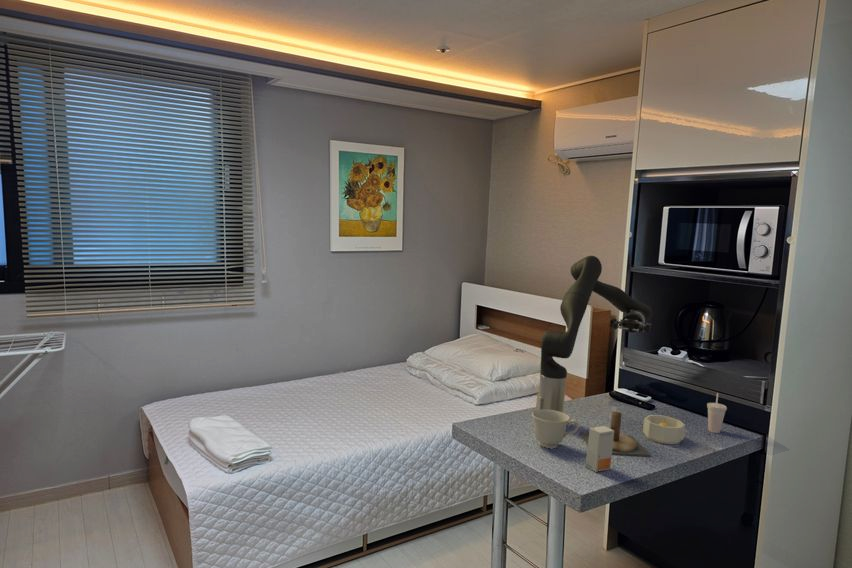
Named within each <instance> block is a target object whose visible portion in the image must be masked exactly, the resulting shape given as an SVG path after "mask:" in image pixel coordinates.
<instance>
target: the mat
mask: <svg viewBox="0 0 852 568" xmlns="http://www.w3.org/2000/svg"><path fill="white" fill-rule="evenodd" d="M579 435H580V437H581V438H582V440H583V439H584V440H583V441H584V442H585V443H586V446H588V440H589V432H579ZM625 435H626V436H628V437H630V438H632V439H634V440H635V441H636V442H637V448H636V449H635V450H634V451H630V452H618V451H612V454H614V456H616V455H617V456H630V455H633V456H634V457H647V456H651V457H652V454H651V453H650V452H649V451H648V450H647V449H646V448H645V447H644V446H643V445H642V444H641V443H640V442H639V441H638V440H637V439H636V438H635V437H634V436H633V435H627V434H625ZM633 456H632V457H633Z"/></svg>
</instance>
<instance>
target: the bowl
mask: <svg viewBox="0 0 852 568" xmlns="http://www.w3.org/2000/svg"><path fill="white" fill-rule="evenodd" d="M685 431H686V424H685V423H684V422H682V421H681V420H679V419H677V418H674V417H671V416H667V415H659V414H650V415H649V414H648V415H647V416H645V417H644V418H643V426H642V433H644V434H645V438H646V439H648V440H650V441H652V442H654V443H658V444H664V445H670V446H671V445H672V446H673V445H674V446H675V445H678V444H680V443H681V441H683V440H684V439H685V434H686V433H685Z"/></svg>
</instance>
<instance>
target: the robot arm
mask: <svg viewBox="0 0 852 568" xmlns="http://www.w3.org/2000/svg"><path fill="white" fill-rule="evenodd" d="M602 270H603V266H602V262H601V260H600V259H599V258H598V257H597V256H595V255H588V256H586V257H583V258H582V259H580V260H578V261H576V262H575V263H573V264H571V267H570V274H571V277H572V278H573V279H574V282H573V284H572V285H571V286H570V287H569V288H568V289H567V291H566V293H565V294H564V295H563V296H564V297H563V299H562V301H561V303H560V306H559V307H560V308H559V309H560V315H561V316H562V319H563V320H564V323H565V325H566V328H567V330H566V331H565V332H564V331H558V330H557V331H556V330H549V329H547V330H545V331H544V333H543V334H542V336H541V343H540V344H541V345H540V347H541V348H540V350H541V351H540V373H539V387H538V392H537V393H536V405H535V410H540V409H548V410H555V411H559V412H562V413H564V408H565V400H566V399H565V398H566V389H567V387H566V385H567V375H568V371H567V369H566V367H564V366H563V365H561V364H559V363H558V362H557V361H556V360H555V359H554V358H557V359H559V358H560V359H569V358H571V356H572V354H573V351H574V348H575V344H576V342H577V341H576V340H577V336H578V333H579V330H580V326H581V324H582V322H583V321H582V320H583V318H584V316H585V313H586V310H587V308H588V305H589V301H590V298H591V296H592V293H595V294H596V295H598V296H601V297H602V298H604V299H605V300H606V301H608V302H609V303H610V304H612V306H614V308H616V309H617V310H619V312H622V313H626V315H625V316H624V317H623V318H622V319H619V320H618V319H616V318H615V317H613V318H611V319H610V320H609V328H613V329H614V330H617V329H621V330H624V331H626V332H628V333H632V334H633V333H642V332H643V333H644V332H645V331H646V332H647V333H650V332H651V325H652V323H650V322H647V321H649V320H650V319H651V318H652V317H653V310H652V308H651V307H650V306H648V305H647V304H646V303H643V302H641V301H638V300H637V299H634V298H633V297H631V296H630V295H629V294H627V293H626V292H625V291H624V290H623V289H621V288H620V287H618V286H614V285H611V284H608V283H605V282H602V281H599V278H600V276H601V275H602ZM627 312H628V313H627Z"/></svg>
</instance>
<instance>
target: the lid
mask: <svg viewBox="0 0 852 568" xmlns="http://www.w3.org/2000/svg"><path fill="white" fill-rule="evenodd" d="M622 414H623V413H621V412H619V411H612V412H611V421H610V427H609V428H610V429H612V430H614V439H613V448H612V451H618V452H630V451H634V450H635V449H636V448H637V442H636V441H635V440H634V439H632V438H630V437H628V436H626V435H627V434H623V433H621V424H622V417H623V415H622Z"/></svg>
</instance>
